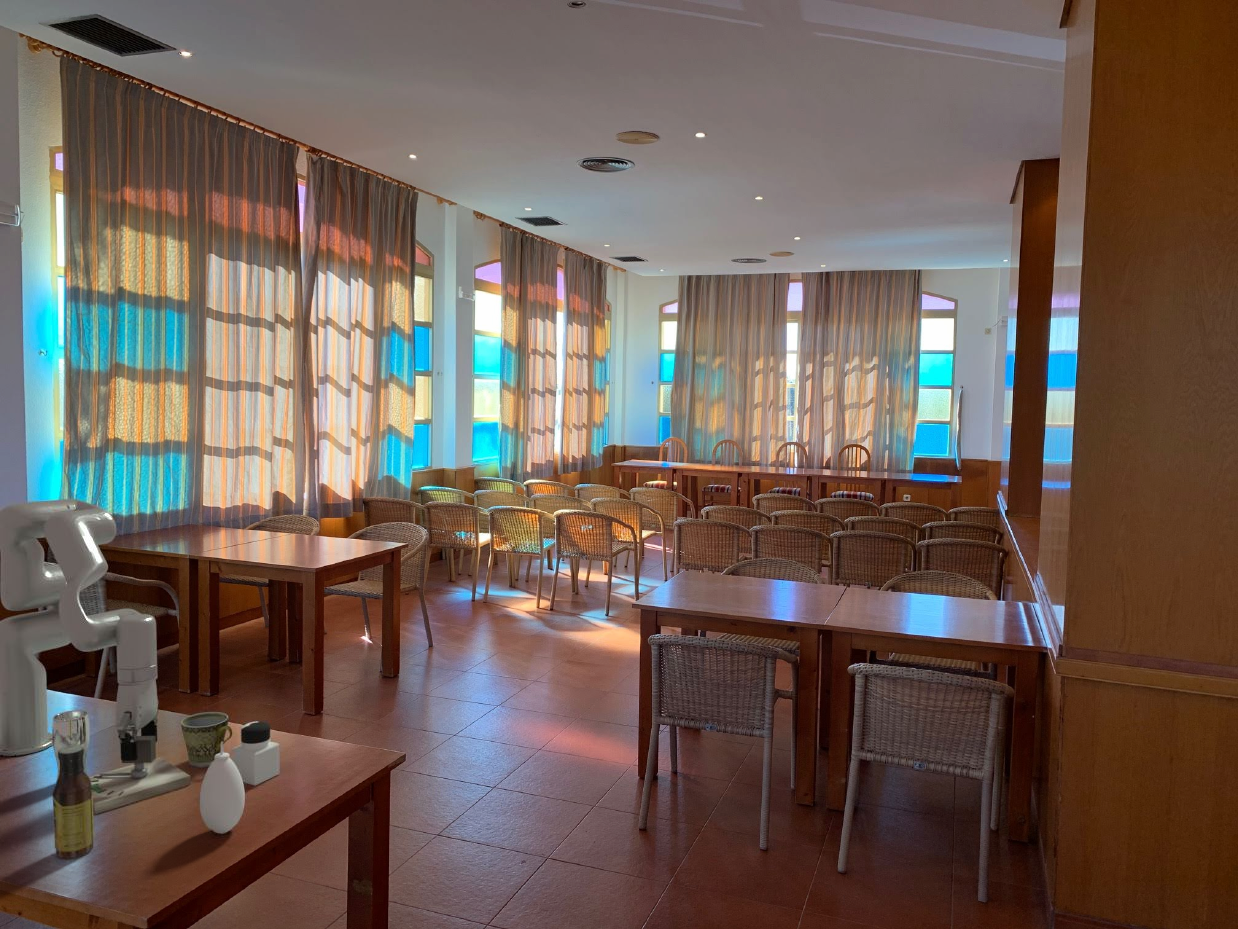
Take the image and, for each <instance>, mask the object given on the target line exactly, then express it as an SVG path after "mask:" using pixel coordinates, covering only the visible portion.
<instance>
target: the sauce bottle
mask: <svg viewBox="0 0 1238 929" xmlns="http://www.w3.org/2000/svg"><path fill="white" fill-rule="evenodd" d="M83 755H84V747H83V746H82V745H69V746H66V747H63V748H61V749H60V750H59V751H58V758H59V761H60V771H59V773H60V774H59V777H58V780H57V779H56V780H57V782H55V785H54V788H53V791H52V808H53V809H52V810H53V811H52V812H53V833H54V834H53V835H54V849H55V853H56V856H57V857H58V858H61V859H74V858H80V857H84V856H85V855H86V854H88V853H89V852H90V851H92V850H93V848H94V841H95V840H94V839H95V826H94V825H95V822H94V813H93V795H92V788H91V786H92V785H91V780H90V778H89V777H90V776H89V774H88V775H87V774H86V773H85V772H84V771H83V770H84V766H83Z"/></svg>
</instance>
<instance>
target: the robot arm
mask: <svg viewBox="0 0 1238 929" xmlns="http://www.w3.org/2000/svg"><path fill="white" fill-rule="evenodd" d="M116 534H117V524H116V521H115V519H114V517H113V516H112V515H111V513H110V512H109V511H108V510H106V509H105V508H103V507H101V506H99V505H95V504H92V503H90V502H86V501H84V500H81V499H77V498H76V499H75V498H65V499H63V498H62V499H51V500H38V501H28V502H27V501H26V502H19V503H13V504H9V505H7V506H5V507H3V508H2V509H1V510H0V601H1V604H2V606H3V608H5V609H6V610H7V611H12V612H13V611H14V612H15V611H16V612H19V611H28V610H32V609H33V610H34V609H38V608H44V607H48V609H46V610H40V611H35V612H34V611H33V612H28V613H27V612H26V613H22V614H18V615H14V616H13V615H12V616H9V617H6V618H4V619H1V620H0V756H1V755H3V757H12V756H13V757H14V756H15V755H16V756H24V755H29V754H33V753H38V752H41V751H42V750H46V749H48V748H50V747H51V746H52V747H53V742H52V732H51V733H50V732H48V727H49V725H48V698H47V697H48V692H47V687H48V686H47V671H46V668H45V666H44V665H43V663H42V662H40V660H39V659H37V657H36V654H37V653H42V652H46V651H50V650H53V649H58V648H61V647H65V646H68V645H69V644H70V643H71V645H73V646H74V648H75V649H77V650H78V651H81V652H84V653H85V652H95V651H99V650H102V649H106V648H110V647H115V646H116V662H117V663H116V664H117V665H116V666H117V668H116V669H117V683H118V689H117V694H116V707H115V708H116V709H115V729H116V731H117V733H118V739H119V740H118V741H119V744H120V760H121V762H122V761H135V760H137V759H138V744H137V741H135V740H136V736H138V731H139V730H140V736H155V738H156V743H157V742H158V718H157V716H158V713H159V711H158V707H159V700H158V692H157V691H158V690H157V681H156V680H157V679H158V657H157V656H158V655H157V654H158V652H157V648H158V646H157V644H158V643H157V622H156V621H157V620H156V618H155V617H154V616H153V615H151V614H146V613H140V612H138V610H136V609H134V608H133V609H132V608H120V609H115V610H110V611H104V612H99V613H95V614H90V615H89V614H88V615H87V614H86V613H85V610H84V609H83V606H82V604H81V601H80V600H81V599H80V593H81V591H83V590H84V589H86V588H87V587H89V586H91V585H93V584H94V583H96V582H98V581H99V580H101V579H102V577H104V576H105V575H106V573H107V571H108V569H109V565H108V563H107V560H106V559H105V556H104V555H103V552H102V551H101V549H100V547H99V545H101V546H102V545H106V544H109V543H111V542H113V540H114V539H115V538H116ZM41 538H42V539H43V538H45V539H46V542H47V543H48V545H49V548H50V550H51V552H52V554H53V556H54V558H55V560H56V563H57V564H52V565H45V551H44V547H43V546H42V544H41V543H40V542H39V540H38V539H41ZM131 732H132V733H131ZM16 756H15V757H16Z"/></svg>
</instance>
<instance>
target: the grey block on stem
mask: <svg viewBox="0 0 1238 929" xmlns="http://www.w3.org/2000/svg"><path fill="white" fill-rule="evenodd" d="M135 741H137V744H138V759H137V760H135V761H122V760H121V764H133V765H134V769H132V770H131V772H119V773H105V772H100V773H99V774H100V776H131V778H142V777H145V776H147V774H148V768H147V767H144V763H151V762H153V761H154V760H155V759H156V758H157V751H156V750H157V749H156V747H157V742H156V738H155V736H141V735H137V736H136V740H135Z"/></svg>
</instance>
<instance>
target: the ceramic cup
mask: <svg viewBox="0 0 1238 929" xmlns="http://www.w3.org/2000/svg"><path fill="white" fill-rule="evenodd" d="M180 727H181V732H182V736H183V739H184V742H185V746H186V747H185V748H186V751H187V756H188V757H187V758H188V762H189V765H190V766H191V767H196V768H205V767H209V766H210V765H211V763H212V762H213V761H214V760H215V759H214V757H215V755H216V754H218V753H220V751H221V741H222V743H223V745H225V743H226V742H228V741H229V740H230V739H231V738H232V736H233V730H232V728H231V726H229V715H228V714H226V713H224V712H219V711H207V712H200V713H199V712H198V713H195V714H192V715H188V716H187V717H185V718H182V720H181V722H180ZM227 731H228V732H229V736H228V737H227V738H226V739H225V737H226V733H227Z"/></svg>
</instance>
